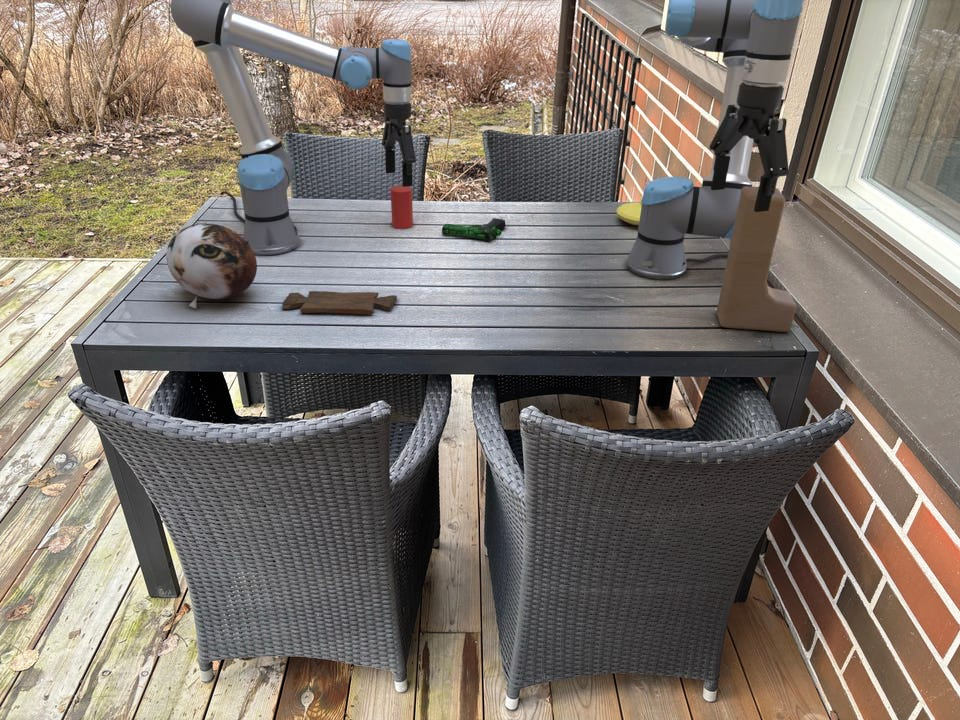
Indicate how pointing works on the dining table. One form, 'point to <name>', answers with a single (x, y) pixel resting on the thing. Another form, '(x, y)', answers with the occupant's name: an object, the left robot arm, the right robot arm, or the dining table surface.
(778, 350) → the dining table surface
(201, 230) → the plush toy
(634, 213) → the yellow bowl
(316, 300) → the dark wooden board
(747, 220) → the decorative block
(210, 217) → the dining table surface
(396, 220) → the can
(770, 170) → the right robot arm
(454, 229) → the handgun
